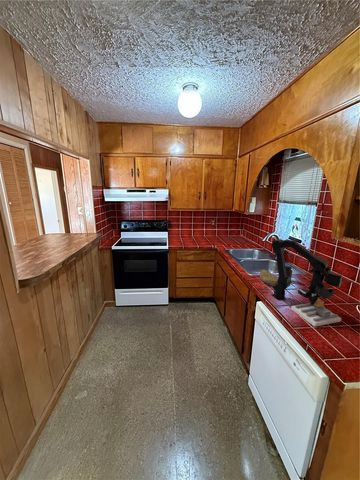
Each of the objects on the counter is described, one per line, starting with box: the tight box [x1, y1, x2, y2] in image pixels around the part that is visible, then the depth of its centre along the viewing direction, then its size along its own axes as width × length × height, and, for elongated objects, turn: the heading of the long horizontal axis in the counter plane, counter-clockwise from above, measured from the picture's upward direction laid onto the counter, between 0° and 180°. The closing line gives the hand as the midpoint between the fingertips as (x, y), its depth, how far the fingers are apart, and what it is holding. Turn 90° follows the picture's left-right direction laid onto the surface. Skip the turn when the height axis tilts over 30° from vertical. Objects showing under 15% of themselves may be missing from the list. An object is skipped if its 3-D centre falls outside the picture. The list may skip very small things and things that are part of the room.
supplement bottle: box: [285, 264, 293, 279], centre depth 154 cm, size 7×7×12 cm
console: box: [290, 302, 342, 328], centre depth 113 cm, size 16×18×3 cm
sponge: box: [259, 269, 278, 287], centre depth 152 cm, size 13×8×20 cm
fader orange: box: [314, 298, 325, 307], centre depth 117 cm, size 5×4×4 cm
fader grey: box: [316, 306, 332, 317], centre depth 108 cm, size 5×4×4 cm
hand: (312, 304), depth 116 cm, fingers closed
